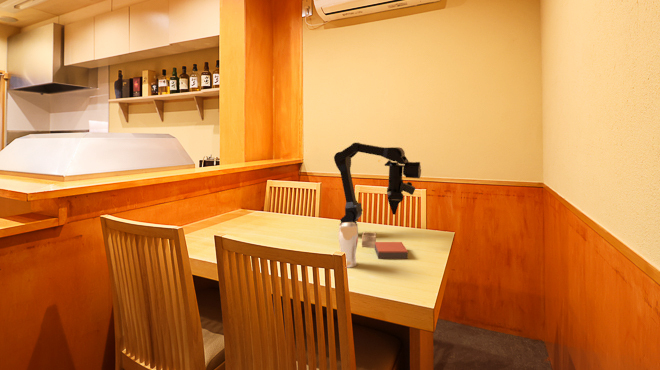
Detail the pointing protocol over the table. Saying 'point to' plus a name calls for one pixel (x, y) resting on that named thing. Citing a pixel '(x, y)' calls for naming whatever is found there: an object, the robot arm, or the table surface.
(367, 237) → the masu
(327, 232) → the table surface
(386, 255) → the red square block
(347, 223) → the beer glass
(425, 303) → the table surface
